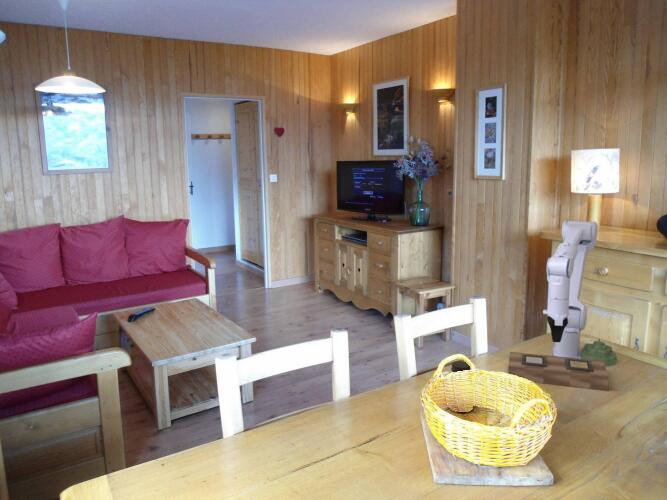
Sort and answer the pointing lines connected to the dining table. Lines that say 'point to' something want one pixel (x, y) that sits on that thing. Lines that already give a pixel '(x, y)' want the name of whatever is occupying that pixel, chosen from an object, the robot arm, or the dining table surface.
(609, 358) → the decorative artifact
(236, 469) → the dining table surface
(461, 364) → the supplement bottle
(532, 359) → the steel peg
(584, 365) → the brass peg
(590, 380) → the walnut board
